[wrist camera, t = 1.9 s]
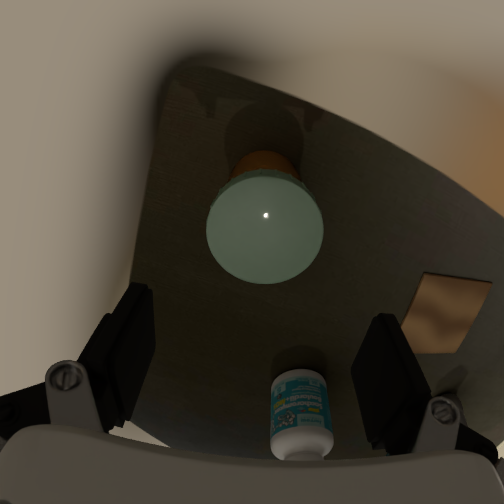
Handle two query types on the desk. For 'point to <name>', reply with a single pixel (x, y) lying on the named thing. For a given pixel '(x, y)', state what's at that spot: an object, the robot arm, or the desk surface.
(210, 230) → the jam lid
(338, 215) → the desk surface
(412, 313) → the coaster
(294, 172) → the jam jar
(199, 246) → the desk surface
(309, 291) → the desk surface
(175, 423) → the desk surface
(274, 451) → the pill bottle
